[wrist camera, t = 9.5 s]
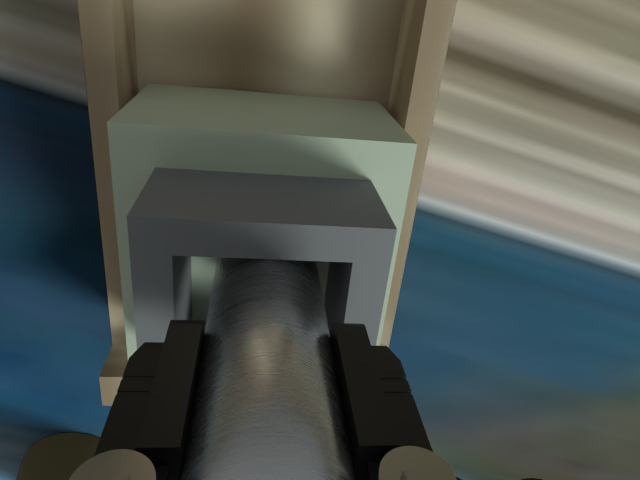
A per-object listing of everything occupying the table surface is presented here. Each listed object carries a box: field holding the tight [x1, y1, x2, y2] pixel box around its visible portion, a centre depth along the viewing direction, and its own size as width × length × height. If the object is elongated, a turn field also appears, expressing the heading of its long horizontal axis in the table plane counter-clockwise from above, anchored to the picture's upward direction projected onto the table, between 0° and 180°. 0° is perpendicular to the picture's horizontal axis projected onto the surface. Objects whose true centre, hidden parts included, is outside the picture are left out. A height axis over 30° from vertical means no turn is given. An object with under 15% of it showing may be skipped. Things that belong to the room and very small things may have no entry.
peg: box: [180, 257, 356, 480], centre depth 10 cm, size 3×3×14 cm
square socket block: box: [107, 83, 417, 360], centre depth 18 cm, size 9×9×10 cm
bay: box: [77, 0, 457, 406], centre depth 17 cm, size 12×30×6 cm, turn 174°
